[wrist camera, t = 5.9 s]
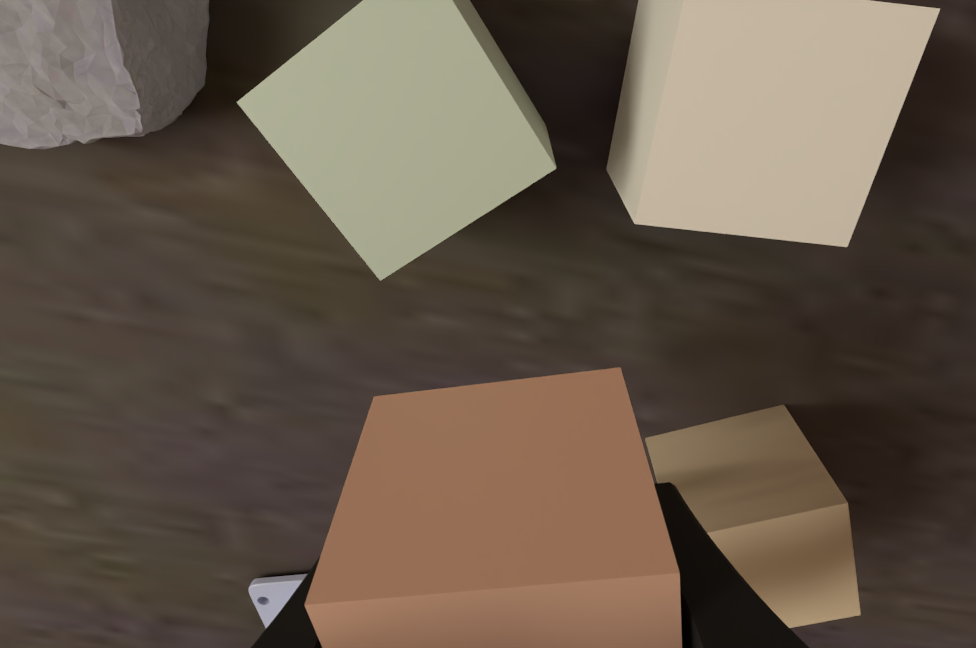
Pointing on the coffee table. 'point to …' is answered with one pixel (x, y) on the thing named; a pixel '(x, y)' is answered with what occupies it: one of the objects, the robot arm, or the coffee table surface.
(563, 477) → the terracotta cube
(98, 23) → the stone block
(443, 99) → the sage cube
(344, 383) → the coffee table surface
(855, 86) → the cream cube
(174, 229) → the coffee table surface
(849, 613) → the maple cube
